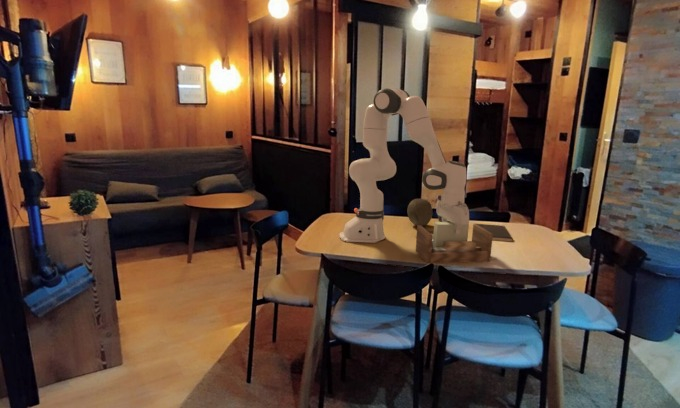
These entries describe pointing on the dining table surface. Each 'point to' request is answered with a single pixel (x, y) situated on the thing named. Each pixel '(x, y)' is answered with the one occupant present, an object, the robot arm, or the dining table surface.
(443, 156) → the robot arm
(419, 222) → the cantaloupe
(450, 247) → the offcut stack
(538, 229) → the dining table surface
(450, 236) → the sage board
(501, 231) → the hardcover book
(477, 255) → the walnut rack
